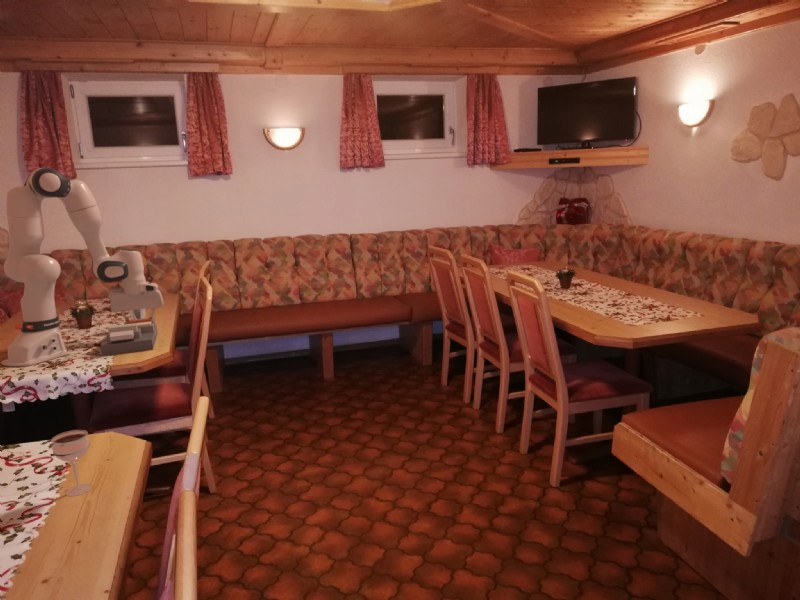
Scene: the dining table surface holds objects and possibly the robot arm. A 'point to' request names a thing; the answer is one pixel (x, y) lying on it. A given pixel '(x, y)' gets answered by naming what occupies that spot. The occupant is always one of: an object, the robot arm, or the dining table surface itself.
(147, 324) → the bar ivory
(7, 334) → the dining table surface
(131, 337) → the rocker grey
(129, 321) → the bar orange
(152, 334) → the panel
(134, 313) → the beer glass
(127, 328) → the bar sage
